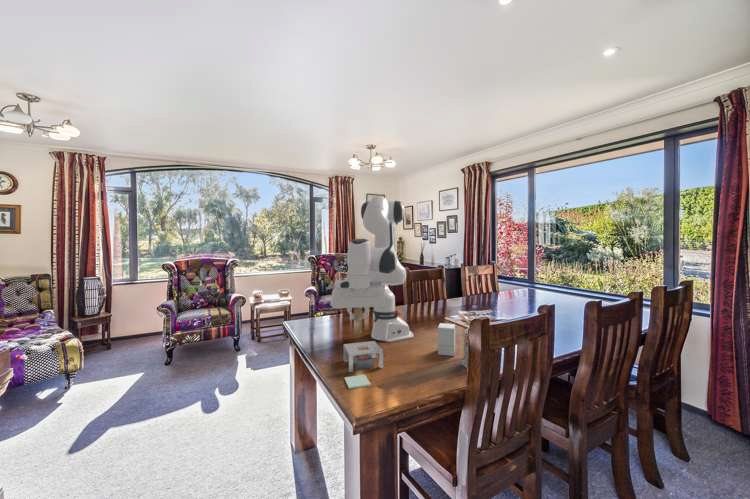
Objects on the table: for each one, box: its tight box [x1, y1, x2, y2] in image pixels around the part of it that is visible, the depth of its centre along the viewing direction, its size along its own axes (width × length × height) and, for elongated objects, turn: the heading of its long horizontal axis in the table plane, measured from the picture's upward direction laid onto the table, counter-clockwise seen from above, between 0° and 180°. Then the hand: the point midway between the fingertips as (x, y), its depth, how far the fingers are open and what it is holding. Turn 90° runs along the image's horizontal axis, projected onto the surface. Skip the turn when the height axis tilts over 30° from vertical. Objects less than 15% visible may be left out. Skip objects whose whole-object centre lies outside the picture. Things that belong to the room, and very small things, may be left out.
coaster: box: [344, 374, 372, 390], centre depth 117 cm, size 8×8×1 cm
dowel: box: [353, 307, 363, 335], centre depth 119 cm, size 3×3×10 cm
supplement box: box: [437, 322, 456, 357], centre depth 145 cm, size 7×7×13 cm
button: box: [358, 355, 369, 360], centre depth 132 cm, size 4×4×3 cm
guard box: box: [342, 340, 384, 373], centre depth 133 cm, size 14×12×7 cm
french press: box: [461, 305, 477, 369], centre depth 133 cm, size 10×12×25 cm
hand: (357, 319), depth 119 cm, fingers closed on dowel, 3 cm apart
